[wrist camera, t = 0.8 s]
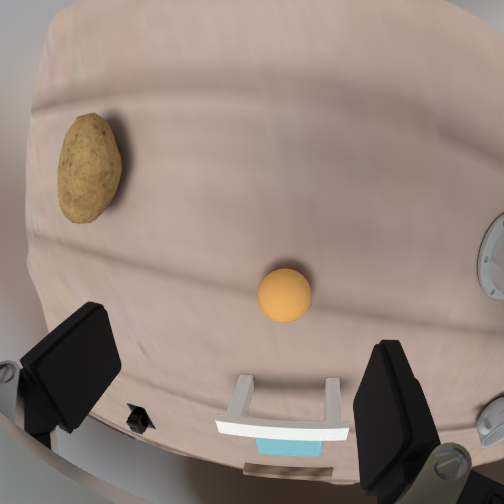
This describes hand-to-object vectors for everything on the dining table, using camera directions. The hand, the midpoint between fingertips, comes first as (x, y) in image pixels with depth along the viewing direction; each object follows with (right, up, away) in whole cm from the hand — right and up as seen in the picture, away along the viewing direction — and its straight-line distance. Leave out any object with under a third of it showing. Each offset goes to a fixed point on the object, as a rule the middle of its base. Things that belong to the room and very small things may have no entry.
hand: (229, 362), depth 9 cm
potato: (-19, +16, +25) cm, 35 cm away
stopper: (+9, -46, +40) cm, 61 cm away
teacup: (+51, -29, +25) cm, 63 cm away
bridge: (+6, -16, +30) cm, 35 cm away
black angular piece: (-24, -34, +44) cm, 60 cm away
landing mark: (+8, -32, +35) cm, 49 cm away
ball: (+4, -1, +22) cm, 22 cm away
